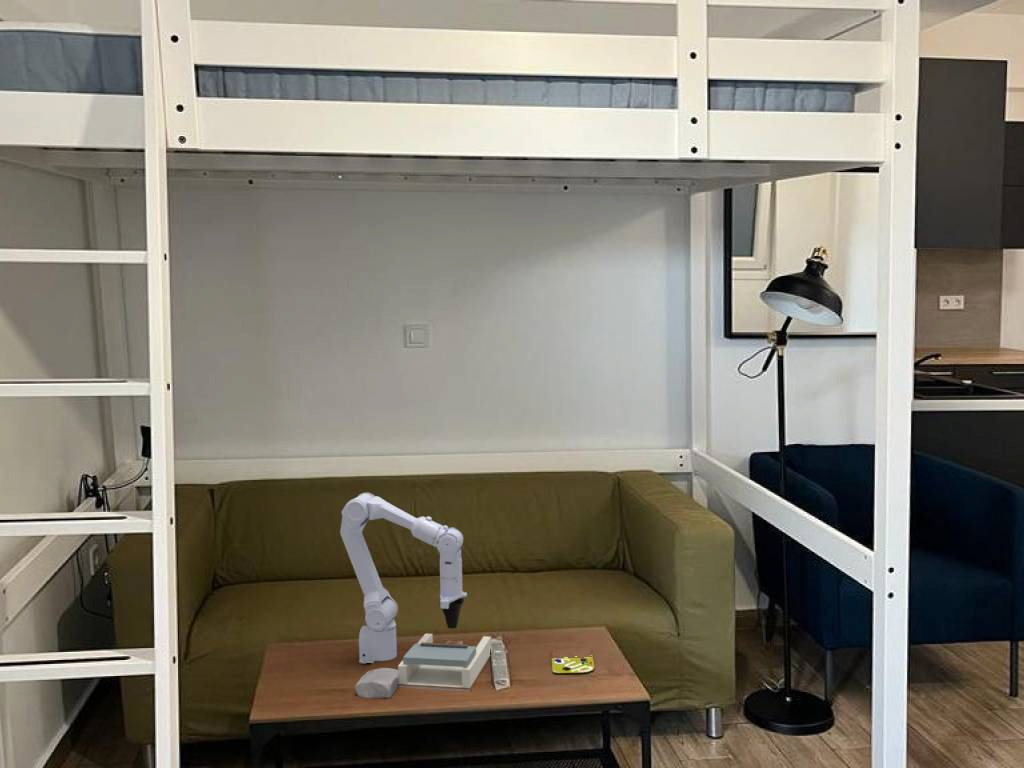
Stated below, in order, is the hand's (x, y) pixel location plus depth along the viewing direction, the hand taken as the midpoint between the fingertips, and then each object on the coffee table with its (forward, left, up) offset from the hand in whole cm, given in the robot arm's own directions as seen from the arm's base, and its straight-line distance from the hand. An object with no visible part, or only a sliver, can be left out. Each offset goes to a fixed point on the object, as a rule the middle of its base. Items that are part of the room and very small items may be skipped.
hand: (452, 627), depth 262 cm
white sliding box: (0, -6, -9) cm, 11 cm away
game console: (+31, +5, -10) cm, 33 cm away
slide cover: (0, -12, -4) cm, 13 cm away
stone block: (-14, -20, -10) cm, 26 cm away
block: (0, +1, -8) cm, 8 cm away
